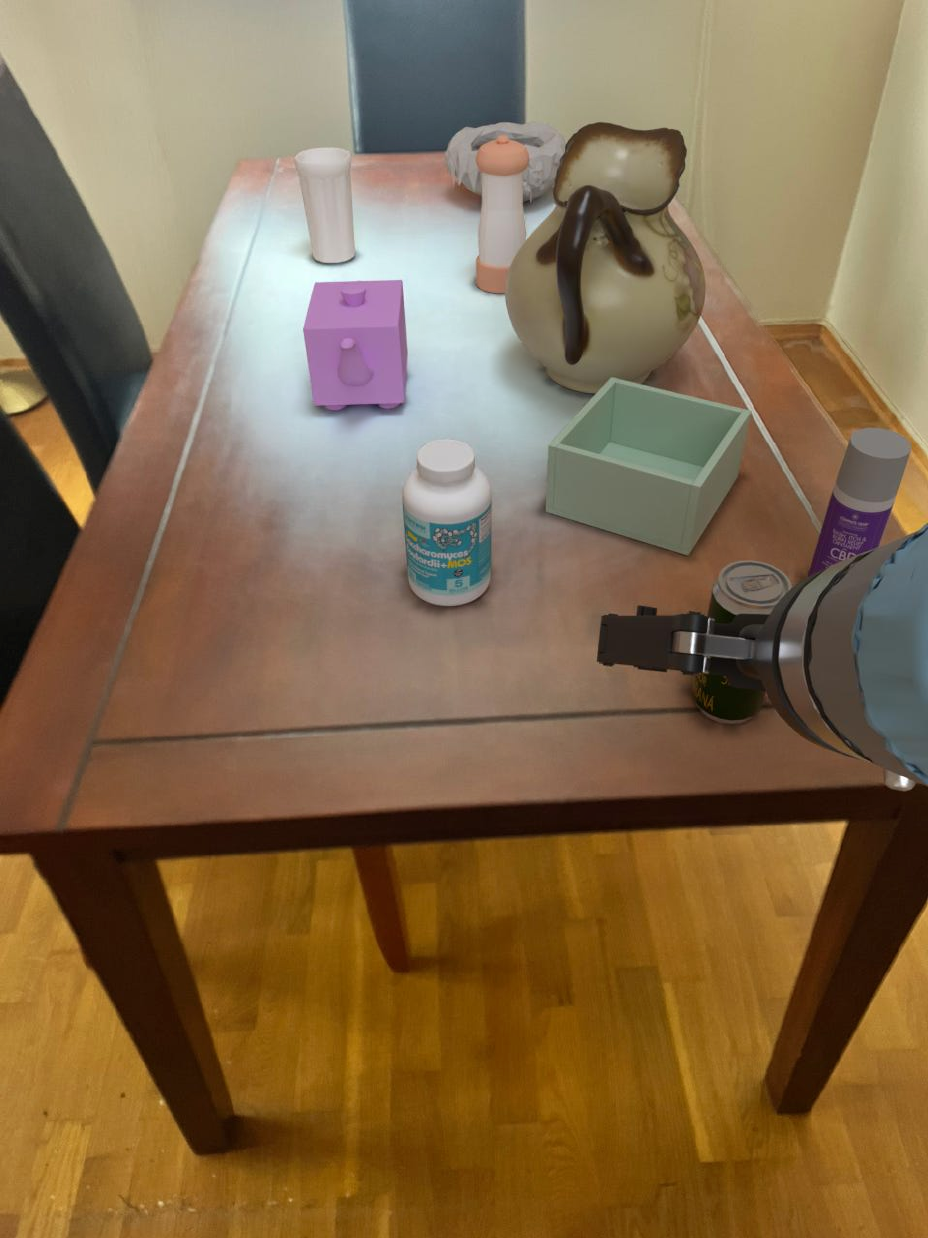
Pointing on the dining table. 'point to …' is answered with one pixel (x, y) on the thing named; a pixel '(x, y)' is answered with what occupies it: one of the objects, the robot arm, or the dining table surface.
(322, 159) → the cup
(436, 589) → the pill bottle
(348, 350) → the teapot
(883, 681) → the robot arm
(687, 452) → the bin
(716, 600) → the beer can
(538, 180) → the bowl
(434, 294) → the dining table surface
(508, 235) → the pepper shaker
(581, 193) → the pitcher
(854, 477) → the container
